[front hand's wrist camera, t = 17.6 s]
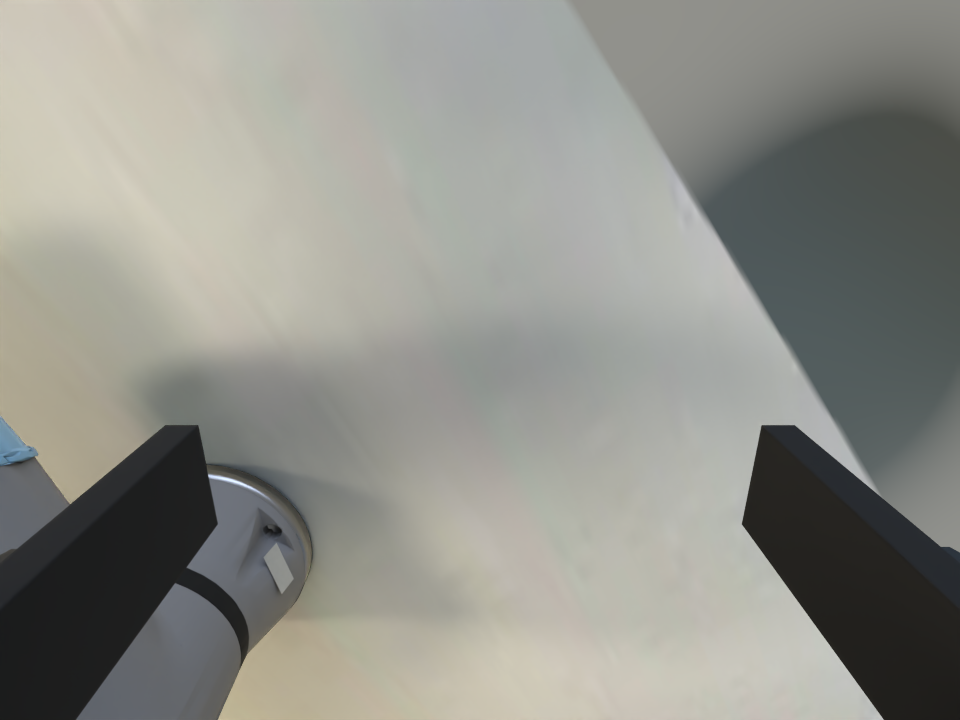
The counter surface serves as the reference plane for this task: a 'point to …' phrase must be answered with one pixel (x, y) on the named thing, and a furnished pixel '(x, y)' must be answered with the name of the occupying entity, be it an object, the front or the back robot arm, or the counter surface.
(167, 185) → the counter surface
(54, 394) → the counter surface
